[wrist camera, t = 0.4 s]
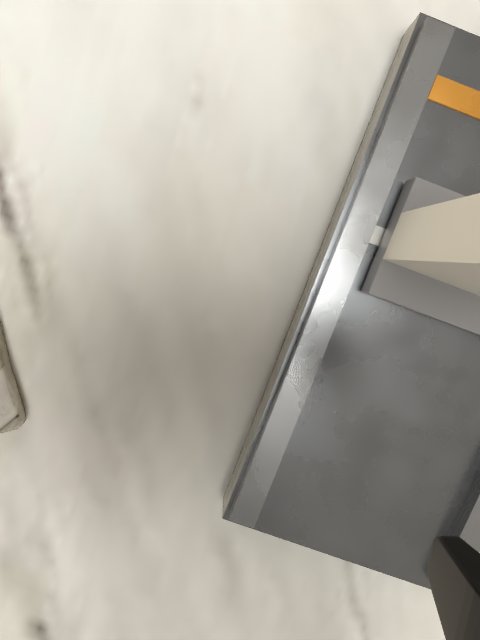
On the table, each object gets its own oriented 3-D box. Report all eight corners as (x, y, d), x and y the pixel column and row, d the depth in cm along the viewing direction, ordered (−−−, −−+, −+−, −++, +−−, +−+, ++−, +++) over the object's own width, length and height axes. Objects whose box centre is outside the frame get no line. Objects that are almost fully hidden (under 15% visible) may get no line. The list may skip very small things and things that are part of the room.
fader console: (432, 568, 25) (456, 607, 22) (223, 496, 24) (221, 528, 21) (638, 130, 21) (697, 112, 19) (403, 35, 21) (428, 2, 18)
